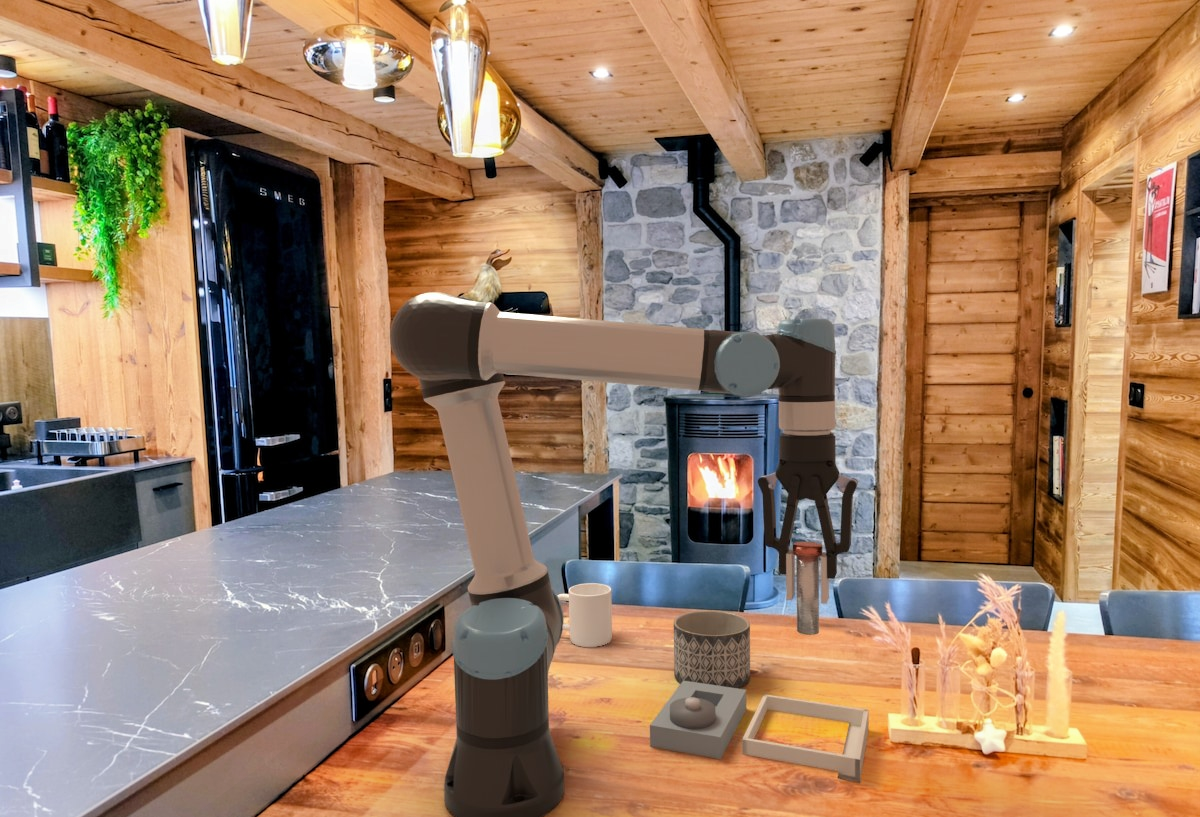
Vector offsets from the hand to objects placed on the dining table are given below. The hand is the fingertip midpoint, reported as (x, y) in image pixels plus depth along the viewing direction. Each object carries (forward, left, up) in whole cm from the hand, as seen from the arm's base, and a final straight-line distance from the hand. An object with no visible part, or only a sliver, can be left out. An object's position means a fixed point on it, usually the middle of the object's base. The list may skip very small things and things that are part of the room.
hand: (807, 598), depth 109 cm
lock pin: (0, 0, -5) cm, 5 cm away
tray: (0, 0, -21) cm, 21 cm away
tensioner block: (-2, +15, -21) cm, 26 cm away
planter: (+16, +18, -21) cm, 32 cm away
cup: (+27, +47, -21) cm, 58 cm away
